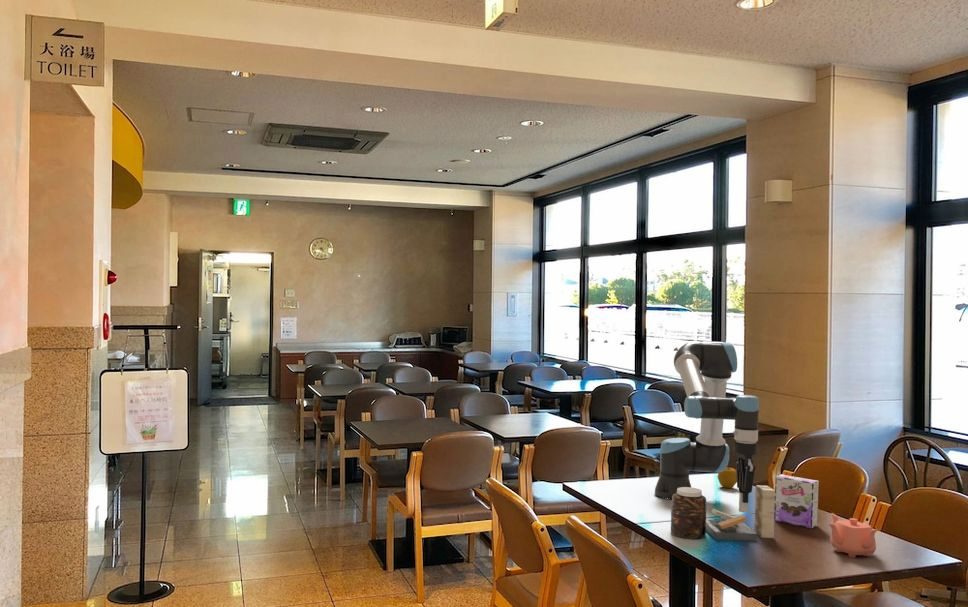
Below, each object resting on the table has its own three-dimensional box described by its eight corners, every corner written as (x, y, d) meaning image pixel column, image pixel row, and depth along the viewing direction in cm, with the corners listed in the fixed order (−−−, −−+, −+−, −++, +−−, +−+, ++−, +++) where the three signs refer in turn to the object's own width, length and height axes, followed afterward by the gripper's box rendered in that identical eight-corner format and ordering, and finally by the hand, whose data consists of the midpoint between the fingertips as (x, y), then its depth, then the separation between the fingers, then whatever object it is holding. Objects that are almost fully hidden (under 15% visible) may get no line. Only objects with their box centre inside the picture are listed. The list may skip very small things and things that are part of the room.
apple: (734, 491, 327) (735, 470, 327) (714, 488, 331) (715, 467, 331) (740, 487, 334) (740, 467, 334) (720, 484, 338) (721, 464, 338)
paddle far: (711, 511, 267) (712, 508, 267) (735, 521, 267) (736, 518, 267) (714, 514, 264) (716, 511, 264) (738, 524, 264) (740, 520, 264)
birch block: (754, 531, 266) (755, 485, 266) (765, 531, 266) (767, 485, 266) (761, 537, 259) (763, 490, 259) (773, 538, 259) (775, 490, 259)
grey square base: (701, 526, 270) (702, 516, 270) (741, 528, 270) (741, 517, 270) (715, 539, 255) (715, 528, 255) (757, 540, 255) (757, 530, 255)
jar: (712, 539, 255) (713, 494, 255) (678, 539, 253) (680, 494, 253) (696, 528, 267) (698, 485, 267) (664, 529, 265) (666, 485, 265)
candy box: (773, 520, 281) (774, 475, 281) (779, 517, 285) (781, 473, 285) (811, 529, 272) (813, 482, 272) (817, 526, 276) (819, 480, 276)
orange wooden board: (718, 526, 260) (717, 522, 260) (744, 518, 260) (742, 514, 260) (722, 529, 257) (721, 525, 257) (747, 520, 257) (746, 517, 257)
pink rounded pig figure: (877, 563, 235) (878, 528, 235) (826, 555, 242) (827, 520, 242) (878, 551, 248) (879, 517, 248) (829, 543, 255) (830, 510, 255)
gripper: (728, 438, 266) (726, 506, 265) (741, 444, 252) (739, 516, 252) (750, 438, 266) (747, 507, 265) (764, 445, 253) (761, 517, 252)
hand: (743, 511), depth 259 cm, fingers closed
